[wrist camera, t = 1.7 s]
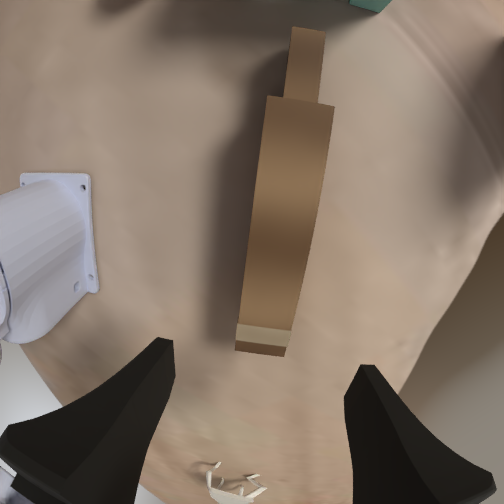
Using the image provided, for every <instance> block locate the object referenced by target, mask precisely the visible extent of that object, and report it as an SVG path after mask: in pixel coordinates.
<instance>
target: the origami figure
mask: <svg viewBox="0 0 504 504" xmlns="http://www.w3.org/2000/svg"><path fill="white" fill-rule="evenodd" d="M220 464H221V462H218V463H217V464H216V465H215V467H213V468H212V469H210V470H208V471H206V480H207V487H208V490H209V493H210V495H211V497H212V498H213V499H214V500H216V501H217V502H218V503H221V504H248V503H249V502H254V501H253V497H255V496H257V495H258V494H260V493H261V492H263V491H264V490H266V489H267V488H266V487H265V486H263V485H261V484H259V483H258V482H256V481H254V480H253V479H251V478H254V477H257V476H260V475H258V474H255V475H252V476H250V477H247V479H248V480H249V481H251V482H252V483H253V484H254V485H256V486H257V487H258V488H257V489H256V490H254V491H252V492H250V493H249V494H247V495H245V496H242V494H243V489H244V485H241V489H240V492H239V494H238V495H236V494H232V493H228V492H225V491H221V490H220V488H221V486H222V485H223V483H224V478H222V477H221V479H222V481H221V483H220V484H219V486H218V487H217V488H216V489H214V488H211V473H212V472H213V471H214V470H215V469H216V468H217V467H218V466H219V465H220Z"/></svg>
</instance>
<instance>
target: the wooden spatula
mask: <svg viewBox="0 0 504 504" xmlns="http://www.w3.org/2000/svg"><path fill="white" fill-rule="evenodd" d="M325 34H326V32H323V31H318V30H313V29H307V28H301V27H294V26H292V32H291V39H290V46H289V54H288V62H287V70H286V77H285V85H284V92H283V97H277V96H269V95H267V102H266V109H265V117H264V124H263V132H262V139H261V147H260V155H259V162H258V170H257V178H256V185H255V193H254V201H253V209H252V217H251V224H250V232H249V240H248V248H247V256H246V264H245V272H244V280H243V288H242V296H241V304H240V312H239V317H238V322H237V329H236V337H235V340H236V345H235V350H236V351H242V352H249V353H256V354H264V355H272V356H280V357H284V355H285V351H286V347H288V343H289V340H290V336H291V332H292V329H291V328H292V324H293V320H294V316H295V312H296V308H297V304H298V299H299V295H300V291H301V287H302V282H303V278H304V274H305V269H306V265H307V260H308V256H309V251H310V246H311V241H312V237H313V232H314V227H315V222H316V217H317V211H318V206H319V201H320V195H321V190H322V184H323V179H324V173H325V167H326V161H327V155H328V149H329V142H330V136H331V129H332V122H333V115H334V108H335V107H334V106H329V105H324V104H319V103H317V102H318V95H319V87H320V79H321V71H322V62H323V53H324V44H325Z"/></svg>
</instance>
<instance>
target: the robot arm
mask: <svg viewBox="0 0 504 504" xmlns="http://www.w3.org/2000/svg"><path fill="white" fill-rule="evenodd" d="M83 185H85V188H86V189H85V190H84V188H83ZM91 275H92V276H93V277H92V276H91ZM98 291H99V281H98V274H97V266H96V257H95V248H94V237H93V224H92V206H91V178H90V176H89V175H88V174H86V173H23V174H21V176H20V188H17V189H15V190H12V191H9V192H7V193H4V194H2V195H0V340H1V339H3V340H5V341H7V342H10V343H16V344H23V343H28V342H32V341H34V340H36V339H39V338H40V337H42V336H44V335H45V334H47V333H48V332H49V331H50V330H51V329H52V328H53V327H54V326H55V325H56V324H57V323H58V322H59V321H60V320H61V319H62V318H63V316H64V315H65V314H66V313H67V312H68V311H69V310H70V309H71V308H72V307H73V306H74V305H75V304H76V303H77V302H78V301H79V300H80V299H81V298H82V297H83V296H84V295H85V294H86V293H87V292H90V293H97V292H98ZM1 358H2V349H1V344H0V363H1ZM174 379H175V363H174V349H173V340H169V339H164V338H160V337H157V338H156V339H155V340H154V341H152V342H151V343H150V344H149V345H148V346H147V347H146V348H145V349H144V350H143V351H142V352H141V353H140V354H139V355H137V356H136V357H135V358H134V359H133V360H132V361H131V362H129V363H128V364H127V365H126V366H125V367H124V368H122V369H121V370H120V371H119V372H117V373H116V374H115V375H114V376H112V377H111V378H110V379H108V380H107V381H106V382H104V383H103V384H102V385H100V386H99V387H97V388H96V389H94V390H93V391H91V392H89V393H88V394H86V395H85V396H83V397H81V398H79V399H78V400H76V401H74V402H72V403H70V404H68V405H66V406H64V407H62V408H60V409H58V410H55V411H53V412H50V413H48V414H45V415H42V416H40V417H37V418H34V419H30V420H27V421H23V422H19V423H15V424H10V425H8V426H7V428H6V429H5V431H4V432H3V434H2V435H1V437H0V458H1V459H2V460H3V461H4V462H5V463H7V464H8V465H9V466H10V467H11V468H12V469H13V470H14V471H16V472H17V474H16V476H15V477H13V476H12V475H11V474H10V473H8V472H7V471H6V470H5V469H3V468H2V467H1V466H0V504H134V501H135V496H136V492H137V487H138V483H139V479H140V475H141V471H142V467H143V463H144V460H145V456H146V453H147V449H148V447H149V444H150V441H151V439H152V436H153V434H154V432H155V430H156V427H157V425H158V423H159V420H160V418H161V416H162V413H163V411H164V409H165V406H166V404H167V402H168V399H169V397H170V393H171V390H172V386H173V383H174ZM344 413H345V423H346V429H347V435H348V441H349V447H350V453H351V460H352V468H353V504H479V503H480V502H482V501H484V500H485V499H487V498H488V497H489V496H491V495H492V494H493V493H495V491H496V485H495V482H494V479H493V476H492V473H491V472H488V471H486V470H484V469H482V468H480V467H478V466H476V465H474V464H472V463H471V462H469V461H467V460H466V459H464V458H463V457H461V456H459V455H458V454H456V453H455V452H454V451H452V450H451V449H450V448H449V447H447V446H446V445H444V444H443V443H442V442H441V441H440V440H439V439H437V438H436V437H435V436H434V435H433V434H432V433H431V432H430V431H429V430H428V429H427V428H426V427H425V426H424V425H423V424H422V423H421V422H420V421H419V420H418V419H417V418H416V416H415V415H414V414H413V413H412V412H411V411H410V410H409V409H408V407H407V406H406V405H405V404H404V402H403V401H402V400H401V399H400V397H399V396H398V395H397V394H396V392H395V391H394V390H393V388H392V387H391V386H390V384H389V383H388V382H387V380H386V379H385V378H384V376H383V375H382V374H381V373H380V371H379V370H378V369H377V368H376V366H375V365H363V364H361V365H360V367H359V369H358V371H357V373H356V375H355V377H354V379H353V381H352V382H351V384H350V386H349V388H348V390H347V392H346V394H345V396H344Z"/></svg>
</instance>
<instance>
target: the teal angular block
mask: <svg viewBox="0 0 504 504" xmlns="http://www.w3.org/2000/svg"><path fill="white" fill-rule="evenodd" d="M391 1H392V0H349V4H350V5H354V6H358V7H361V8H365V9H368V10H371V11H375V12H378V13H380V12H381V11H382V10H383V9H384V8H385V7H386V6H387V5H388V4H389V3H390V2H391Z"/></svg>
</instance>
